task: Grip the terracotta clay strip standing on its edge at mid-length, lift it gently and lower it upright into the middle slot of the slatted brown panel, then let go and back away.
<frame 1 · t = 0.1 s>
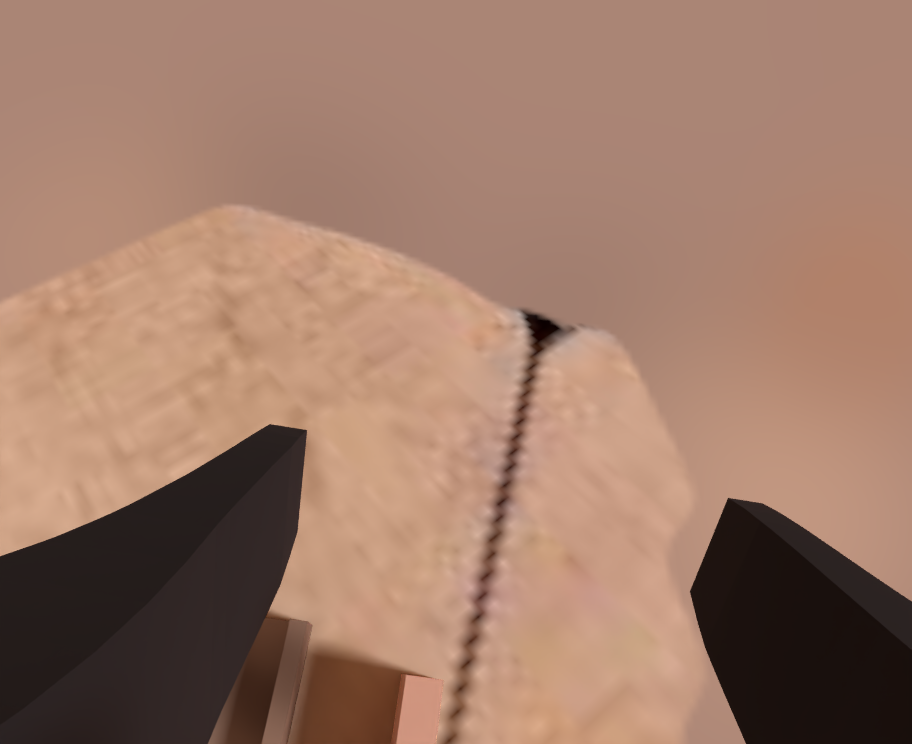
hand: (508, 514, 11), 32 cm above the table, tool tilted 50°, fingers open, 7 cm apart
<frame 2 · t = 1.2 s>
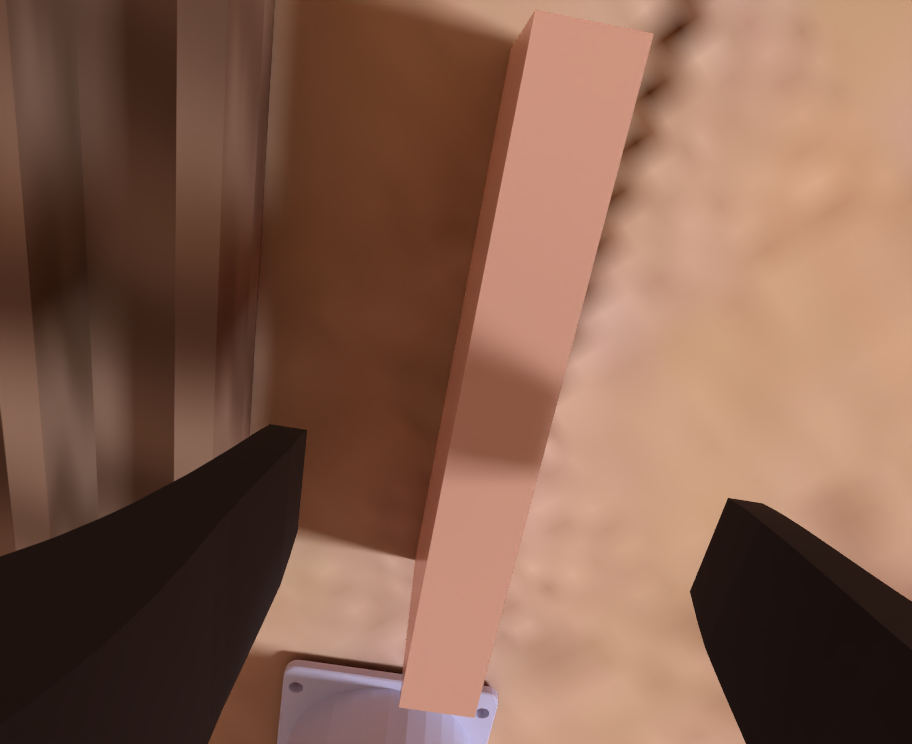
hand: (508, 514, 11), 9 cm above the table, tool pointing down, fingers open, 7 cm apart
slatted brown panel: (8, 269, 18), on the table
clay strip: (488, 349, 19), on the table
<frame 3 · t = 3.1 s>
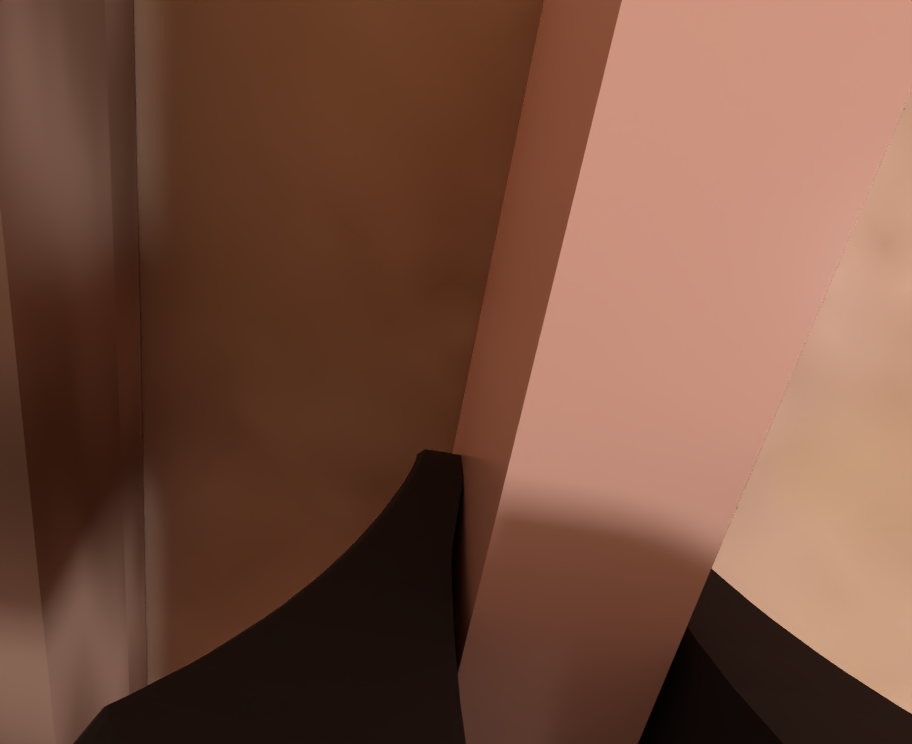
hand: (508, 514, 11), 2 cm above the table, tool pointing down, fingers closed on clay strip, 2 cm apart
clay strip: (502, 462, 12), on the table, touching gripper
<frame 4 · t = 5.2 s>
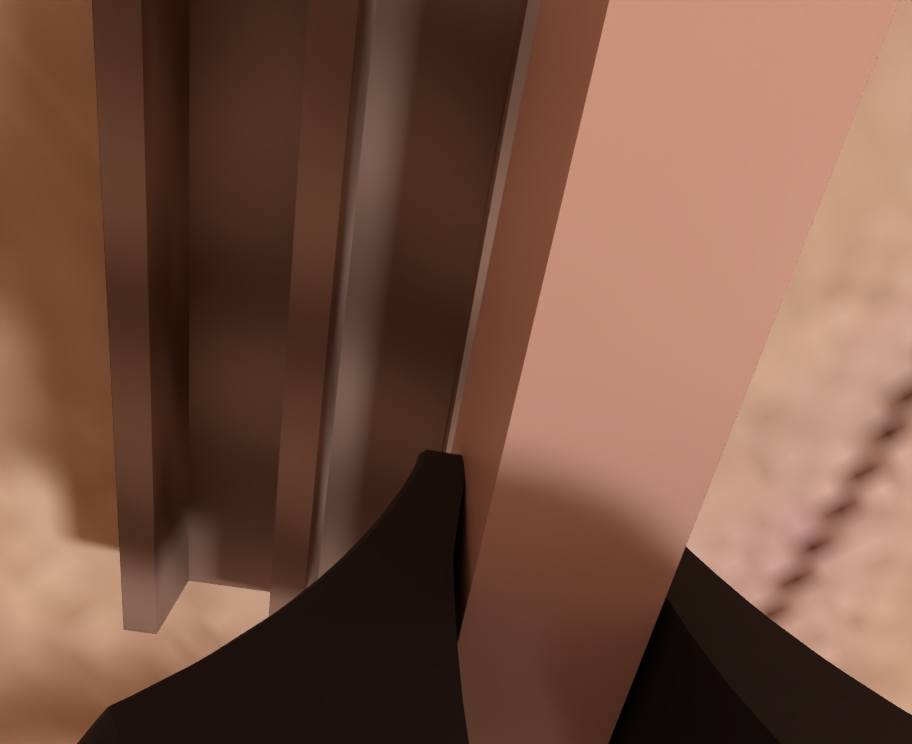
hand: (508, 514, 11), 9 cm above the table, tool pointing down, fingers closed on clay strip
slatted brown panel: (404, 329, 19), on the table
clay strip: (500, 454, 13), point 7 cm above the table, touching gripper
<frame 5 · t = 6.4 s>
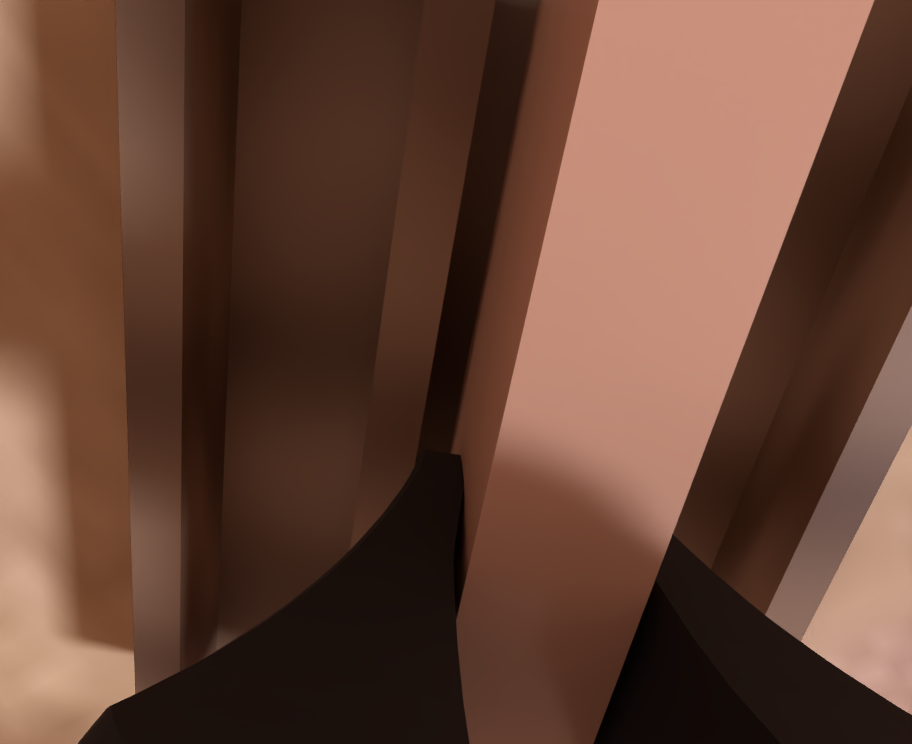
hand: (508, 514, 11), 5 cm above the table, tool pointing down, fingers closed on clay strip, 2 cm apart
slatted brown panel: (496, 400, 15), on the table
clay strip: (498, 450, 13), point 2 cm above the table, touching gripper
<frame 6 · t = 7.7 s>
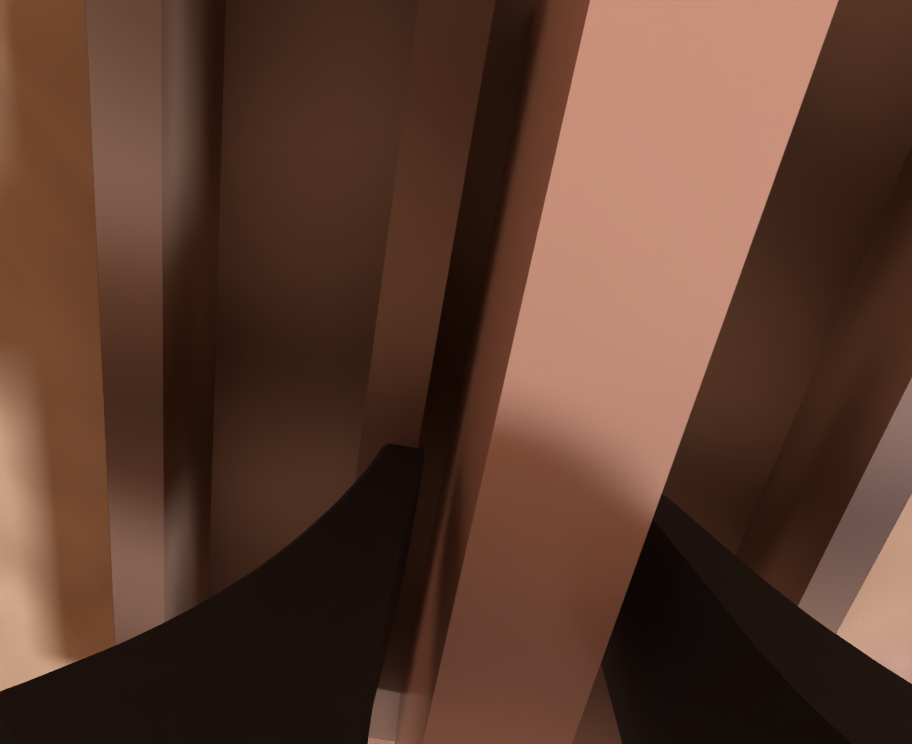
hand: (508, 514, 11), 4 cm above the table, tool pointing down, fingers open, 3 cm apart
slatted brown panel: (497, 412, 14), on the table
clay strip: (498, 435, 13), point 1 cm above the table, touching slatted brown panel
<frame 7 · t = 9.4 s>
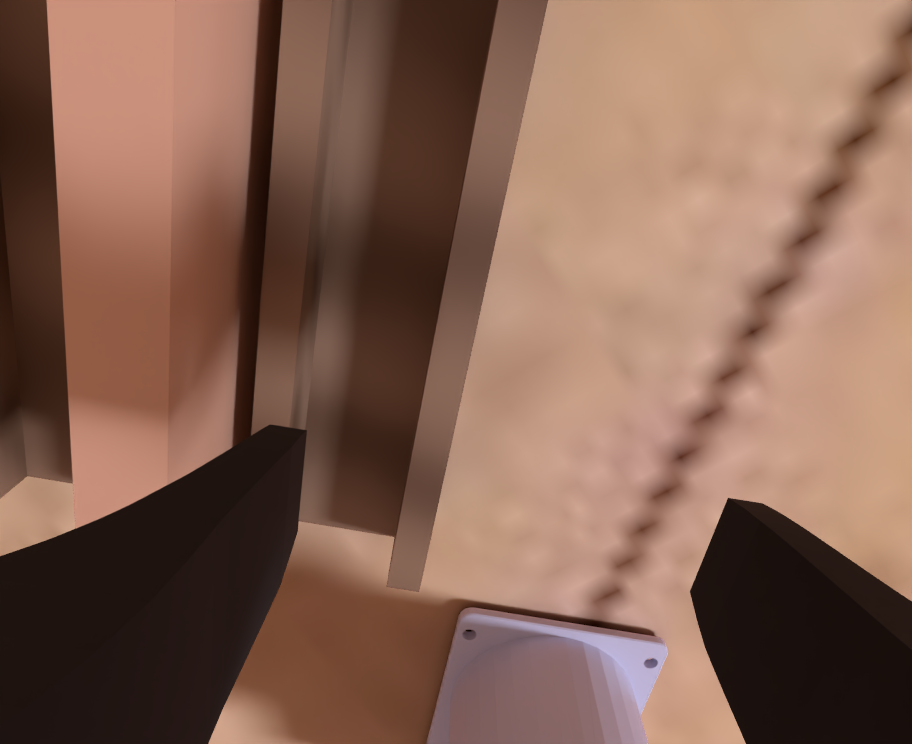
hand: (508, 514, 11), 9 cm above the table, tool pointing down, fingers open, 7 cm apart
slatted brown panel: (239, 201, 18), on the table
clay strip: (229, 211, 17), point 1 cm above the table, touching slatted brown panel
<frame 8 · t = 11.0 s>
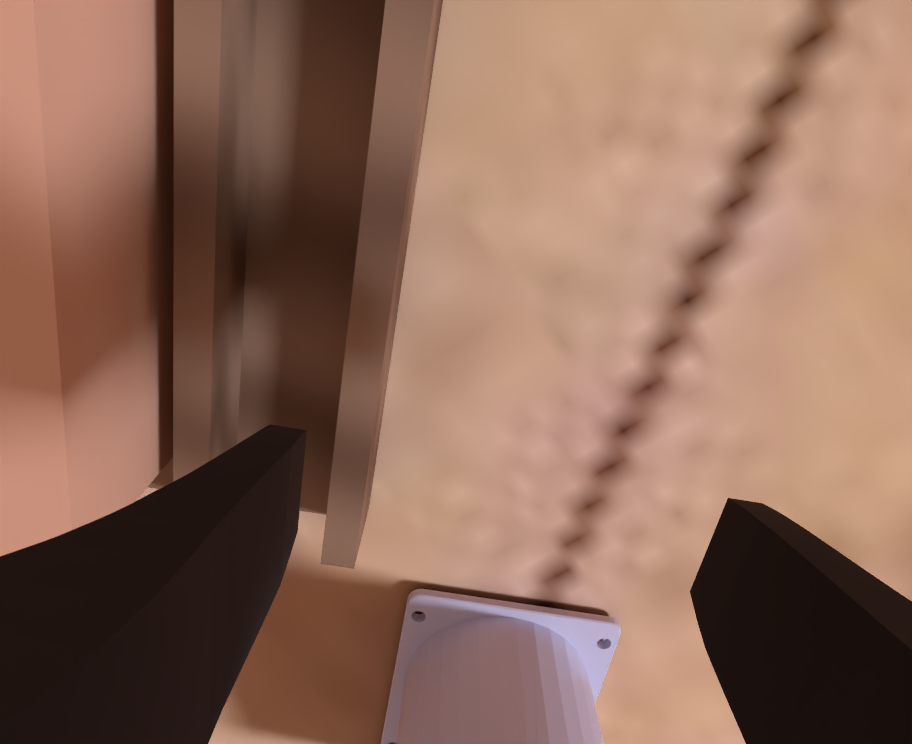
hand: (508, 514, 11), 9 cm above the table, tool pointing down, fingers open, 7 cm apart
slatted brown panel: (162, 175, 18), on the table
clay strip: (149, 183, 17), point 1 cm above the table, touching slatted brown panel
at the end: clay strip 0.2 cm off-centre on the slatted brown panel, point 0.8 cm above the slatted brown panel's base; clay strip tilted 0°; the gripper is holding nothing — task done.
